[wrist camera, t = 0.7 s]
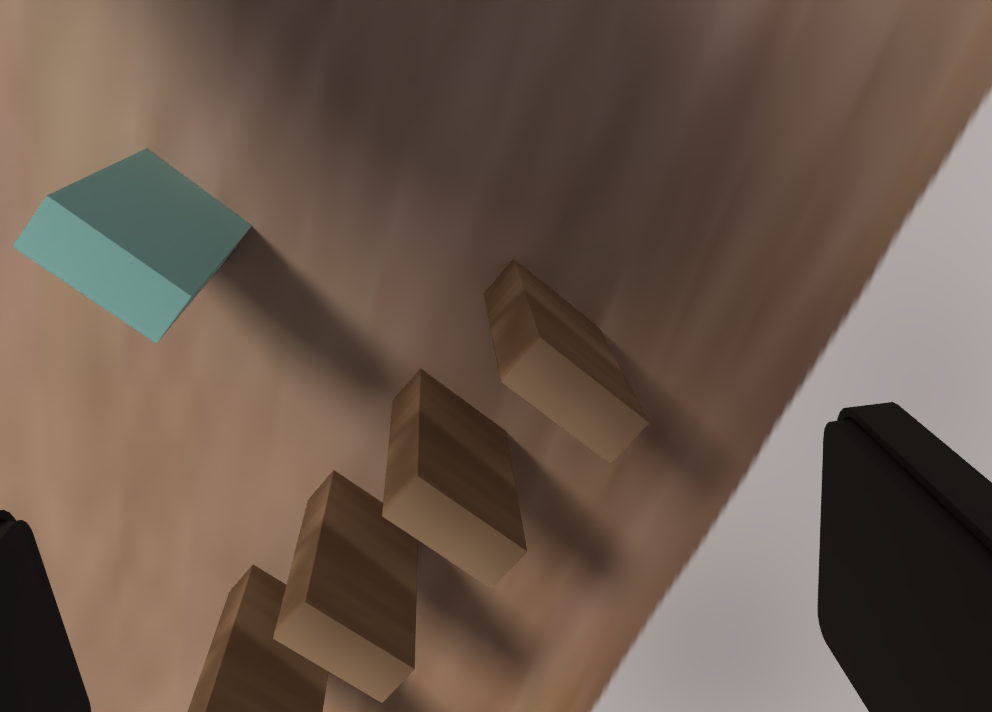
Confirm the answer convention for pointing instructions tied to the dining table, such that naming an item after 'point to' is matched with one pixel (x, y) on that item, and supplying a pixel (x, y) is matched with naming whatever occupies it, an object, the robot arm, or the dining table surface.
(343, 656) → the domino
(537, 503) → the dining table surface
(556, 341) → the domino
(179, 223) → the teal domino
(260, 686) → the domino
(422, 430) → the domino
